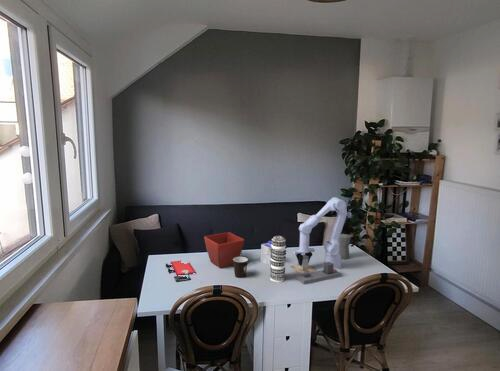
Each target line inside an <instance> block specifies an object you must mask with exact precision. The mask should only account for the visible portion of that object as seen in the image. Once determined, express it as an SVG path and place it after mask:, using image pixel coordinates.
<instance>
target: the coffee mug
mask: <svg viewBox="0 0 500 371" xmlns="http://www.w3.org/2000/svg"><path fill="white" fill-rule="evenodd" d="M233 263H234V265H233V270H234V277H235V278H238V279H243V278H246V277H247V270H248V266H249V263H250V258H248V257H244V256H240V257H236V258H234V259H233Z"/></svg>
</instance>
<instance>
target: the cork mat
mask: <svg viewBox="0 0 500 371" xmlns="http://www.w3.org/2000/svg"><path fill="white" fill-rule="evenodd" d="M290 268H291V269H293V270H295V271H296V272H298V273H299V274H306V273H311V272H316V271H317V269H316V268H315V267H312V266H311V265H309V264H308V269H305V270H302V269H300V268H299V264H295V265H290Z"/></svg>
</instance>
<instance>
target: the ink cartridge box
mask: <svg viewBox="0 0 500 371" xmlns="http://www.w3.org/2000/svg"><path fill="white" fill-rule="evenodd" d="M271 244H272V240H268V241H267V242H266V243H265V242H264V243H262V244H261V246H260V247H261V248H260V263H264V264H266V265H267V266H270V267H271V257H270V255H271V254H270V253H271V251H270V247H271Z"/></svg>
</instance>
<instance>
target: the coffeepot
mask: <svg viewBox="0 0 500 371" xmlns="http://www.w3.org/2000/svg"><path fill="white" fill-rule="evenodd" d="M342 232H343V233H341V234H340V238H339V254H340V256H341V260H349V259H350V248H349V247H354V246H355V244H356V242H357V239H358V237H357V235H356V234H348V233H346V231H345V230H342ZM352 238H353V240H352V244H351V245H350V243H351V239H352Z"/></svg>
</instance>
